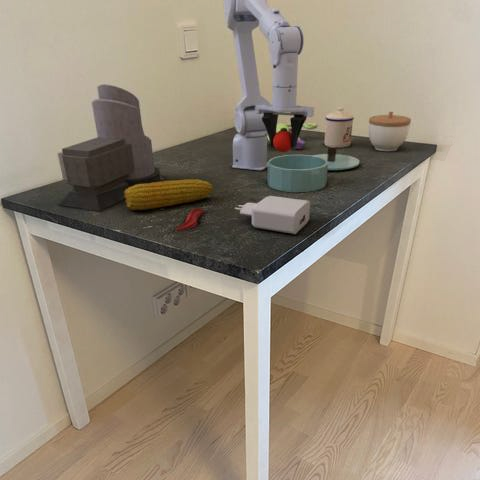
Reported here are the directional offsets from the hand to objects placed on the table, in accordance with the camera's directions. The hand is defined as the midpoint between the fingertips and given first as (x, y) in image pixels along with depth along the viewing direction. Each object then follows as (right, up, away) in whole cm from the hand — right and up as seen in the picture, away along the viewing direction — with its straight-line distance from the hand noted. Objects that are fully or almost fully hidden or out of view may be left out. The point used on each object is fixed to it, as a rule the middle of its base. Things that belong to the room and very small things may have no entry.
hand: (283, 146), depth 120 cm
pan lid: (+16, +2, +19) cm, 25 cm away
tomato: (0, +1, -1) cm, 1 cm away
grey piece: (-42, -10, +4) cm, 44 cm away
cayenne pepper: (-21, -22, -16) cm, 35 cm away
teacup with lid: (+22, +15, +41) cm, 49 cm away
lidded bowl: (+36, +12, +35) cm, 51 cm away
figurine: (+4, +17, +45) cm, 48 cm away
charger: (-5, -23, -19) cm, 30 cm away
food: (-27, -17, -7) cm, 33 cm away
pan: (+4, -8, +5) cm, 10 cm away
